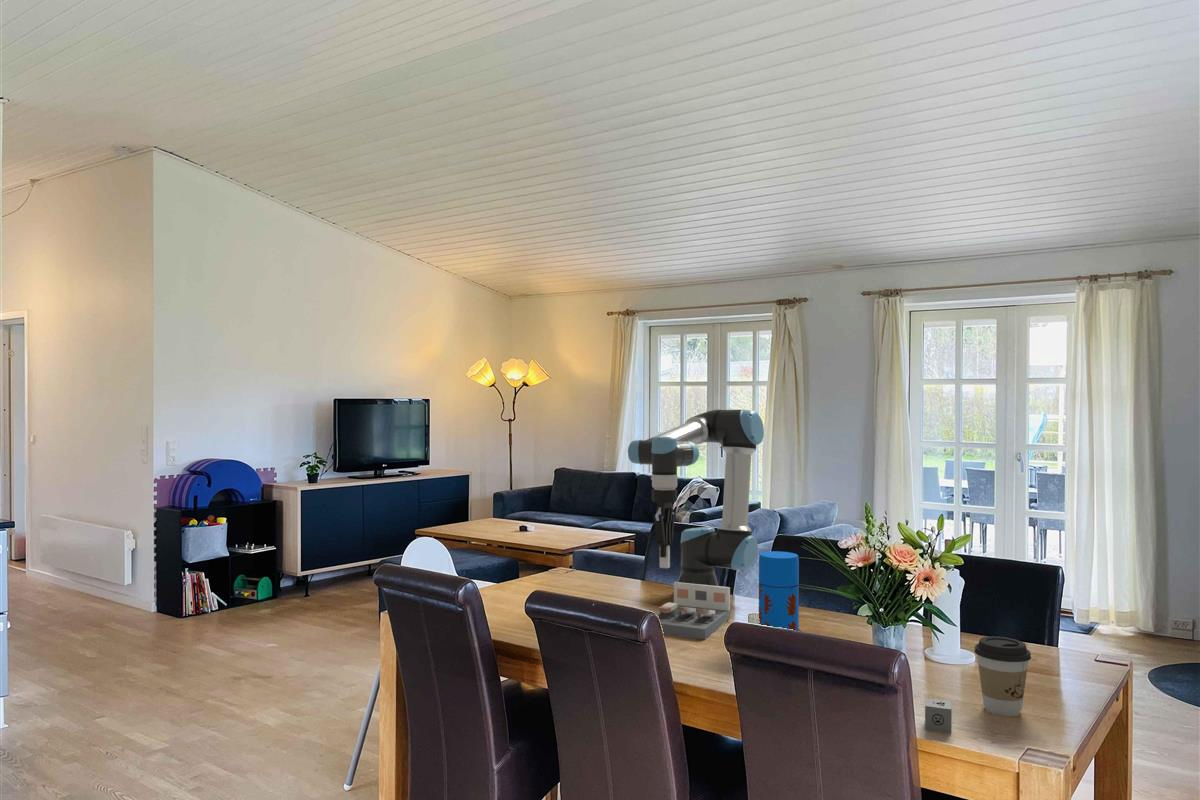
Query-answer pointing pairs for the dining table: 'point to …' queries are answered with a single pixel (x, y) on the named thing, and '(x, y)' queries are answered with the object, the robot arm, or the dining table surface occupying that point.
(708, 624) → the switch unit
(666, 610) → the switch
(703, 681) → the dining table surface
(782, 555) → the thermos
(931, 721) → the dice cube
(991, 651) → the coffee cup
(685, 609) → the switch
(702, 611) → the switch
